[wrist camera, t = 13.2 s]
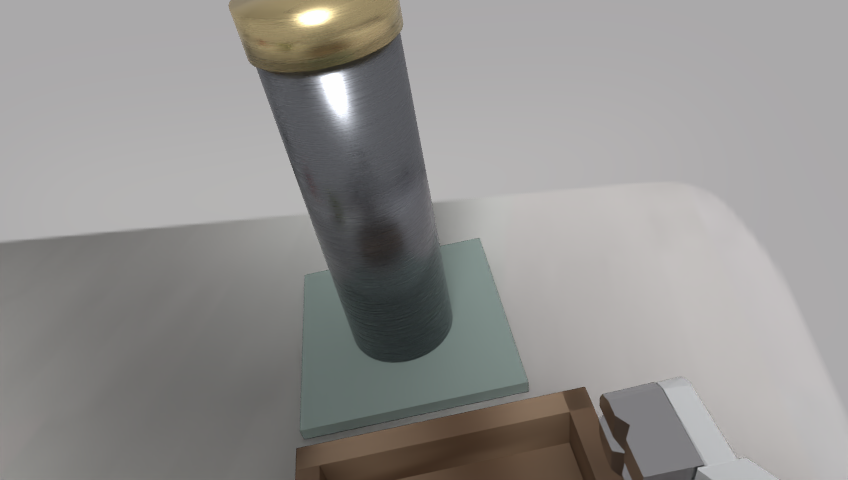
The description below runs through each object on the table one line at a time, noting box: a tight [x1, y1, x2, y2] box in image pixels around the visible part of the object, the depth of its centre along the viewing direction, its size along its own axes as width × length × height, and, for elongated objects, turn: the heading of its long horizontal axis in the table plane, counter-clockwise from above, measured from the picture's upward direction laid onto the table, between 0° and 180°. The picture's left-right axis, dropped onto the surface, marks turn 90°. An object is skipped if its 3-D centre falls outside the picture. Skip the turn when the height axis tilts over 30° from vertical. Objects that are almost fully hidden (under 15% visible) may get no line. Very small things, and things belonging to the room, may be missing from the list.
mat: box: [300, 238, 529, 439], centre depth 26 cm, size 9×9×1 cm
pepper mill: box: [229, 0, 453, 363], centre depth 21 cm, size 5×5×14 cm
